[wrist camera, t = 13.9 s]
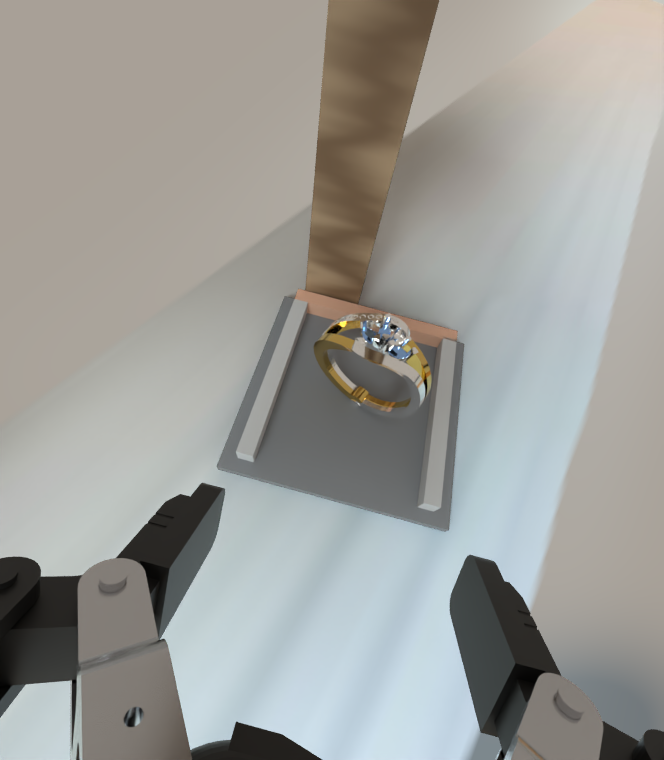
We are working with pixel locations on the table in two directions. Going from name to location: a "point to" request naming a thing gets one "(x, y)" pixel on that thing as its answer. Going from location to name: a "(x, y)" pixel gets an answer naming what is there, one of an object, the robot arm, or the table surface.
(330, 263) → the shelf
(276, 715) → the table surface
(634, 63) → the table surface
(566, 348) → the table surface
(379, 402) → the ring
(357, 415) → the seat
